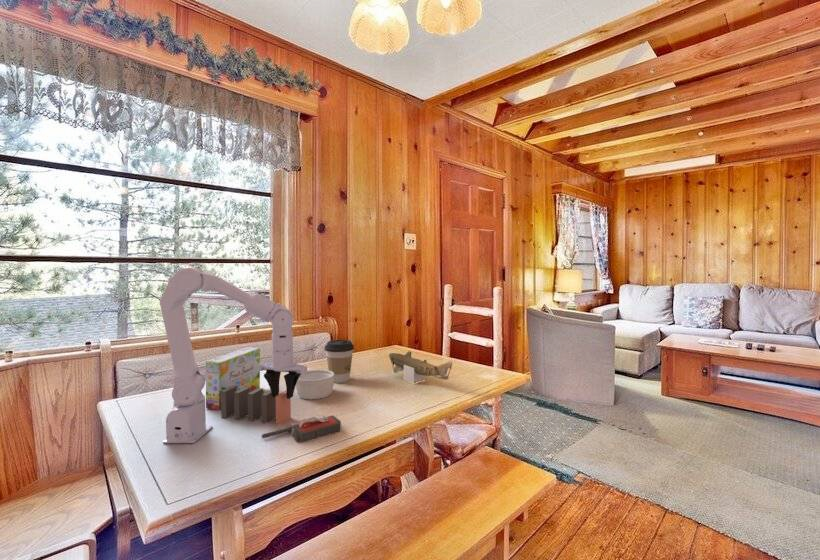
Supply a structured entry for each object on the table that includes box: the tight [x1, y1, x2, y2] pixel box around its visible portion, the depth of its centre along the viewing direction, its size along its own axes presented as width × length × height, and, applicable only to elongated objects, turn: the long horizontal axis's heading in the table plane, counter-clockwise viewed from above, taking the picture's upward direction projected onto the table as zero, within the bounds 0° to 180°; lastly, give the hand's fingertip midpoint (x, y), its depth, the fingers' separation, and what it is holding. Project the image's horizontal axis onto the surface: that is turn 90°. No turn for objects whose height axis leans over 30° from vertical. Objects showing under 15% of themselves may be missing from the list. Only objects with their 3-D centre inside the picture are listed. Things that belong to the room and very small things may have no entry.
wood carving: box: [388, 351, 453, 384], centre depth 144 cm, size 9×35×11 cm, turn 40°
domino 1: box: [220, 386, 237, 419], centre depth 113 cm, size 2×5×8 cm, turn 166°
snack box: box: [205, 346, 261, 411], centre depth 127 cm, size 21×6×15 cm, turn 168°
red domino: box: [275, 390, 292, 426], centre depth 109 cm, size 2×5×8 cm, turn 166°
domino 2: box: [234, 387, 250, 421], centre depth 112 cm, size 2×5×8 cm, turn 166°
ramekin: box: [295, 369, 334, 401], centre depth 131 cm, size 13×13×7 cm
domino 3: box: [247, 387, 264, 422], centre depth 111 cm, size 2×5×8 cm, turn 166°
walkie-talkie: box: [261, 414, 342, 443], centre depth 101 cm, size 9×4×20 cm
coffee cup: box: [323, 339, 355, 384], centre depth 146 cm, size 11×11×15 cm
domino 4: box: [261, 389, 276, 424], centre depth 110 cm, size 2×5×8 cm, turn 166°
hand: (282, 396), depth 109 cm, fingers open, 4 cm apart
